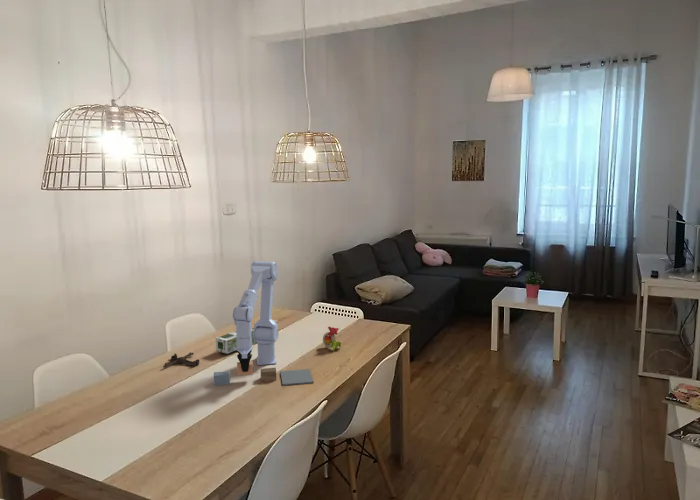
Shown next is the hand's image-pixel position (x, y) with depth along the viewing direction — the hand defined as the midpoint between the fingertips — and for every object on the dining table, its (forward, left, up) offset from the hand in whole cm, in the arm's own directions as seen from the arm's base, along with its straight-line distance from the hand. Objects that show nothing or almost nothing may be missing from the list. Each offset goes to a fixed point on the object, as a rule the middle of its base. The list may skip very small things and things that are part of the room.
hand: (245, 369), depth 205 cm
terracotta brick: (0, 0, -2) cm, 2 cm away
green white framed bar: (-44, +1, -5) cm, 44 cm away
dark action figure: (-24, -26, -5) cm, 36 cm away
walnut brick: (0, +9, -5) cm, 10 cm away
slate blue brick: (0, -9, -5) cm, 10 cm away
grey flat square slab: (+1, +20, -5) cm, 21 cm away
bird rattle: (-29, +39, -5) cm, 49 cm away
